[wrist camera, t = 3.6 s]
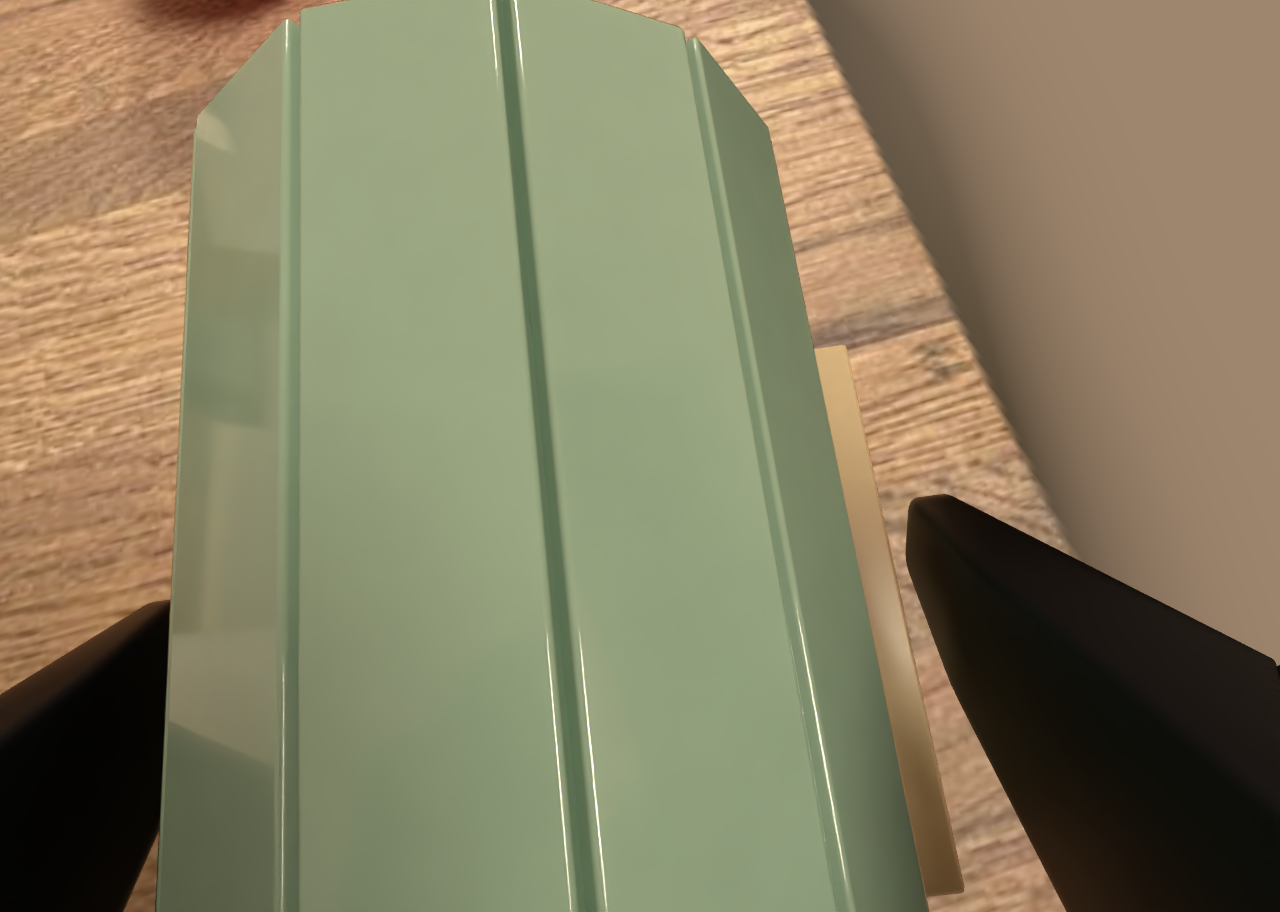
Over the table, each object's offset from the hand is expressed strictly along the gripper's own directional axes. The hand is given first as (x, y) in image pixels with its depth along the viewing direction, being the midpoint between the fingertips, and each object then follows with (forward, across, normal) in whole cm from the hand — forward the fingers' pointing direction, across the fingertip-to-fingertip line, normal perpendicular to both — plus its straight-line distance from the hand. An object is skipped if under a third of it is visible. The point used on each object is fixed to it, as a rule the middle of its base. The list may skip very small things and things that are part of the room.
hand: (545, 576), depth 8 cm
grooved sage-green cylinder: (-1, 0, 0) cm, 1 cm away
